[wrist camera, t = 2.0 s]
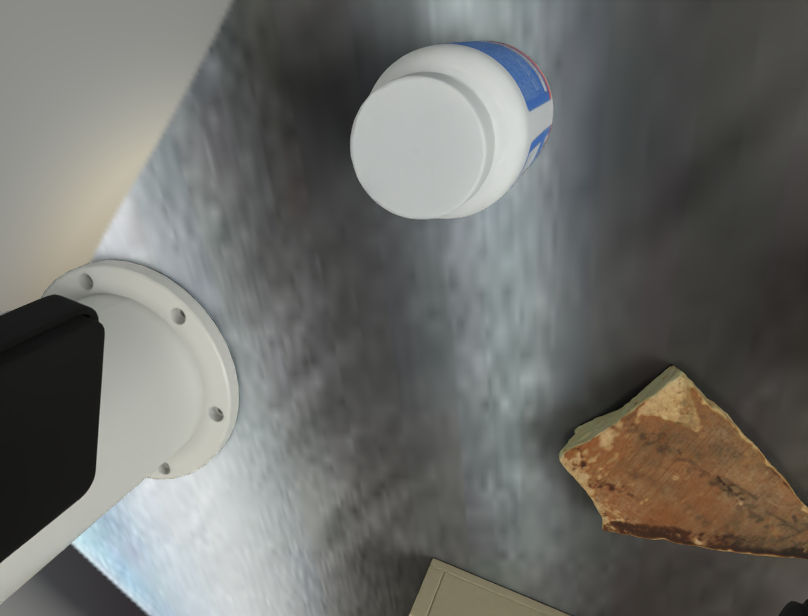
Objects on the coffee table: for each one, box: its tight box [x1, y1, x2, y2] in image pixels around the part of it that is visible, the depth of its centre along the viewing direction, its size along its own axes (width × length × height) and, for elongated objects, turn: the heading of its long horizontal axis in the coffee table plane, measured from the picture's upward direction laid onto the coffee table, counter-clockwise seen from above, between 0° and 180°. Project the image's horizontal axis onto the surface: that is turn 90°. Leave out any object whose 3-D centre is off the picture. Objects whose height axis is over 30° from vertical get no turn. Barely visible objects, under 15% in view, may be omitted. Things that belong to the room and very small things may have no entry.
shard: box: [559, 366, 808, 559], centre depth 30 cm, size 11×8×2 cm
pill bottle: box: [350, 41, 553, 219], centre depth 24 cm, size 6×5×10 cm
